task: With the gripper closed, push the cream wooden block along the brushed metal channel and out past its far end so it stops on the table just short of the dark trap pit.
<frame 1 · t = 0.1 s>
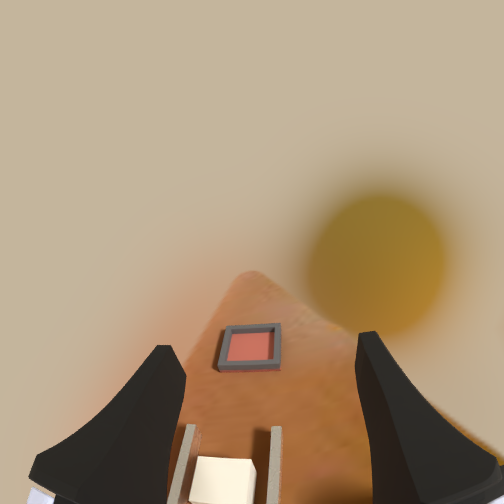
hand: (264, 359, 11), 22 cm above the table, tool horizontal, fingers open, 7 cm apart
channel: (230, 485, 23), on the table
block: (229, 492, 22), on the table
trap pit: (252, 350, 41), on the table
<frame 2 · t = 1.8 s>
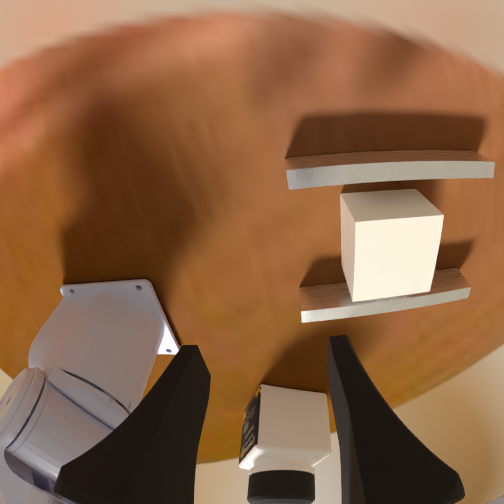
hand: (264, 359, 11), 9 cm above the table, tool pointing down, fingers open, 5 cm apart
channel: (389, 227, 18), on the table
block: (377, 226, 18), on the table
medicine bottle: (283, 402, 29), on the table
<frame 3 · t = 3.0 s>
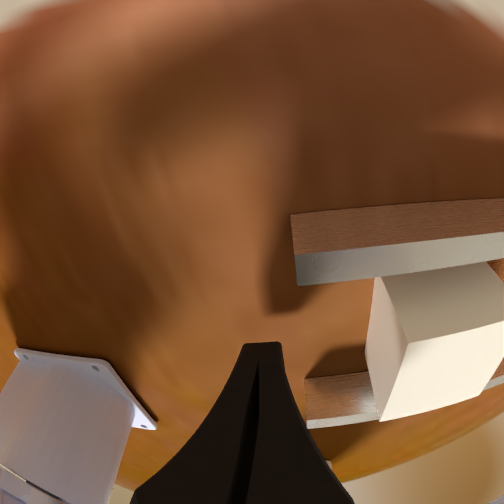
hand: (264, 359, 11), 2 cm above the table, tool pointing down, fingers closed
channel: (436, 305, 11), on the table
block: (421, 305, 12), on the table
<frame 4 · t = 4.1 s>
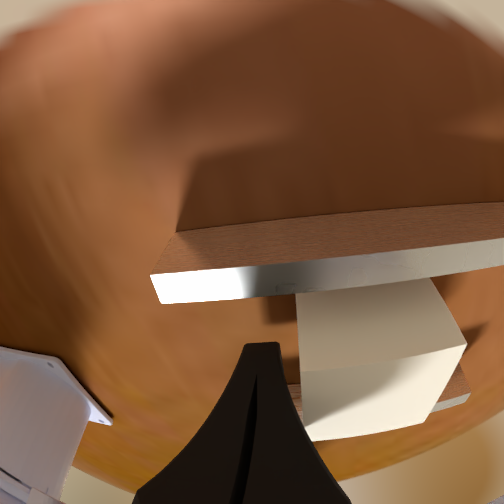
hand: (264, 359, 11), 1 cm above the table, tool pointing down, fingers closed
channel: (357, 323, 12), on the table
block: (358, 323, 12), on the table, touching gripper
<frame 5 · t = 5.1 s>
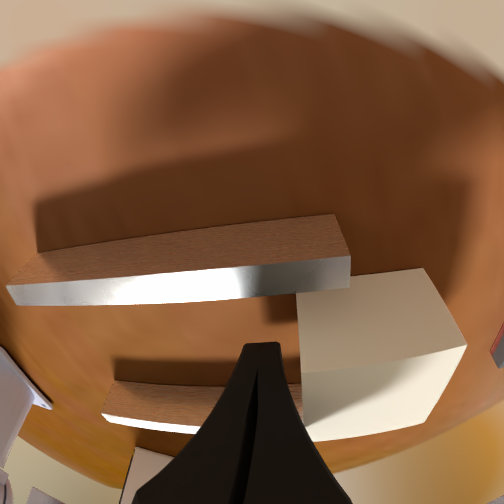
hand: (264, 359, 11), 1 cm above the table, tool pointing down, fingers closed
channel: (188, 336, 13), on the table
block: (358, 323, 12), on the table, touching gripper
medicine bottle: (171, 462, 24), on the table
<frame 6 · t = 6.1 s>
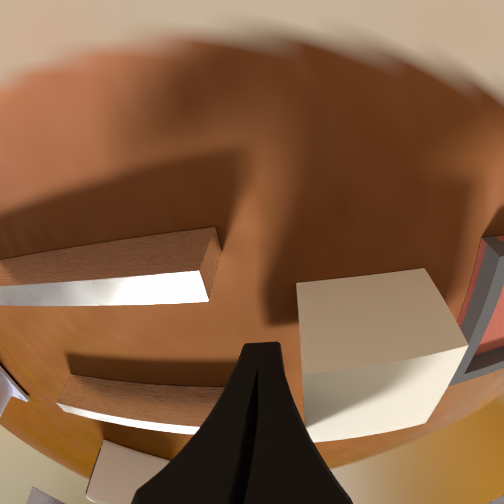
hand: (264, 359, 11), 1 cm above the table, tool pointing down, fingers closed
channel: (116, 336, 13), on the table
block: (359, 324, 12), on the table, touching gripper
medicine bottle: (139, 457, 25), on the table
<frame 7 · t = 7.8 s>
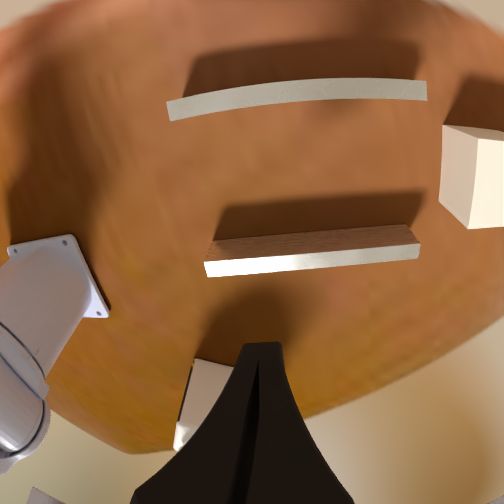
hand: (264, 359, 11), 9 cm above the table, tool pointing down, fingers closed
channel: (306, 168, 16), on the table
block: (470, 164, 15), on the table
medicine bottle: (225, 383, 28), on the table
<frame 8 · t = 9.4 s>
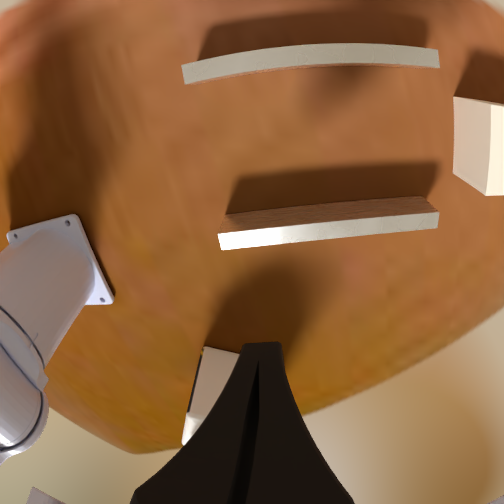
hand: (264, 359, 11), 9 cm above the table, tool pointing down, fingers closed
channel: (322, 137, 15), on the table
block: (481, 136, 14), on the table
medicine bottle: (235, 373, 27), on the table
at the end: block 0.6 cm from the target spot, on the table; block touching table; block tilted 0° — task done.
